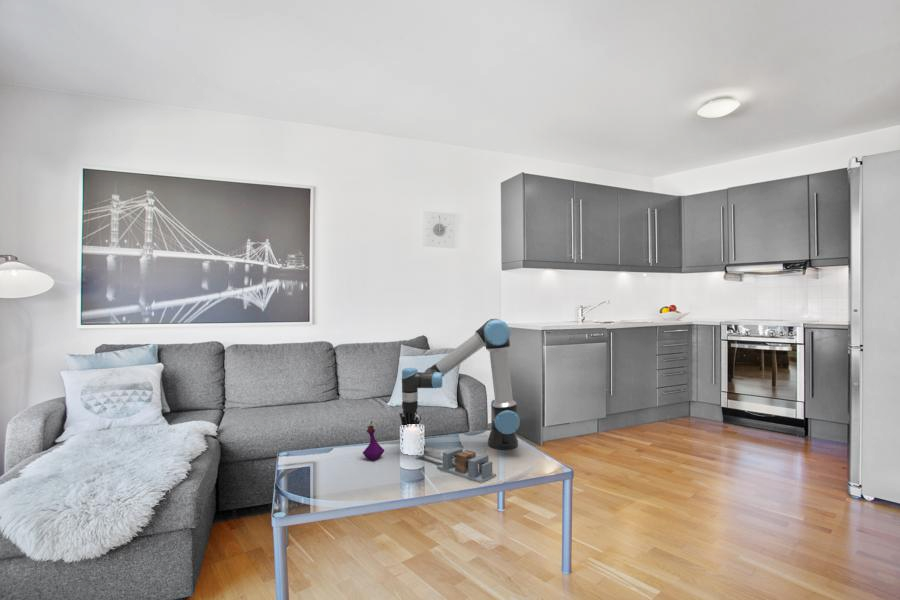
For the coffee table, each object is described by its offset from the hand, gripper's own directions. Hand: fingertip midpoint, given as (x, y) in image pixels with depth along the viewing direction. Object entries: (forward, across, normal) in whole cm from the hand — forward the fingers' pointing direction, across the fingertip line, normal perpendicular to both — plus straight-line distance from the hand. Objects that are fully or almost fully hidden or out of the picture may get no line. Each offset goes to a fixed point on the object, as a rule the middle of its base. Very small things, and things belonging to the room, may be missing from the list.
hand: (410, 449), depth 225 cm
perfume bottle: (+3, -9, -15) cm, 18 cm away
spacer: (+1, +35, 0) cm, 35 cm away
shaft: (+1, +18, 0) cm, 18 cm away
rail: (+2, +35, 0) cm, 35 cm away
